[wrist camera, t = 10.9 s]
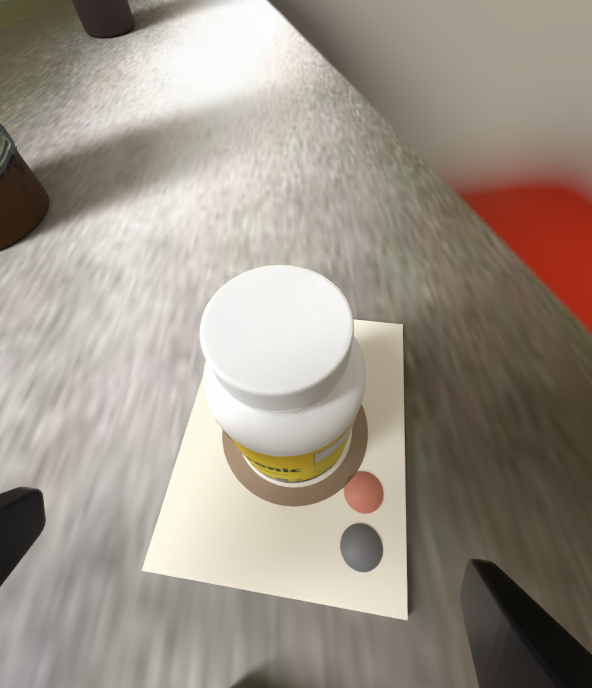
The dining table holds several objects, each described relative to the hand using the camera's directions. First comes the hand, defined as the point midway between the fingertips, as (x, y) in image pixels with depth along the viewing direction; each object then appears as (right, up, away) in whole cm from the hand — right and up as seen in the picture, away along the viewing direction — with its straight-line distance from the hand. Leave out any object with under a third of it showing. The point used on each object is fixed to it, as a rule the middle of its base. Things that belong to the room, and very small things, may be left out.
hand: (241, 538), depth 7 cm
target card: (+1, 0, +11) cm, 11 cm away
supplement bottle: (+1, 0, +10) cm, 10 cm away
